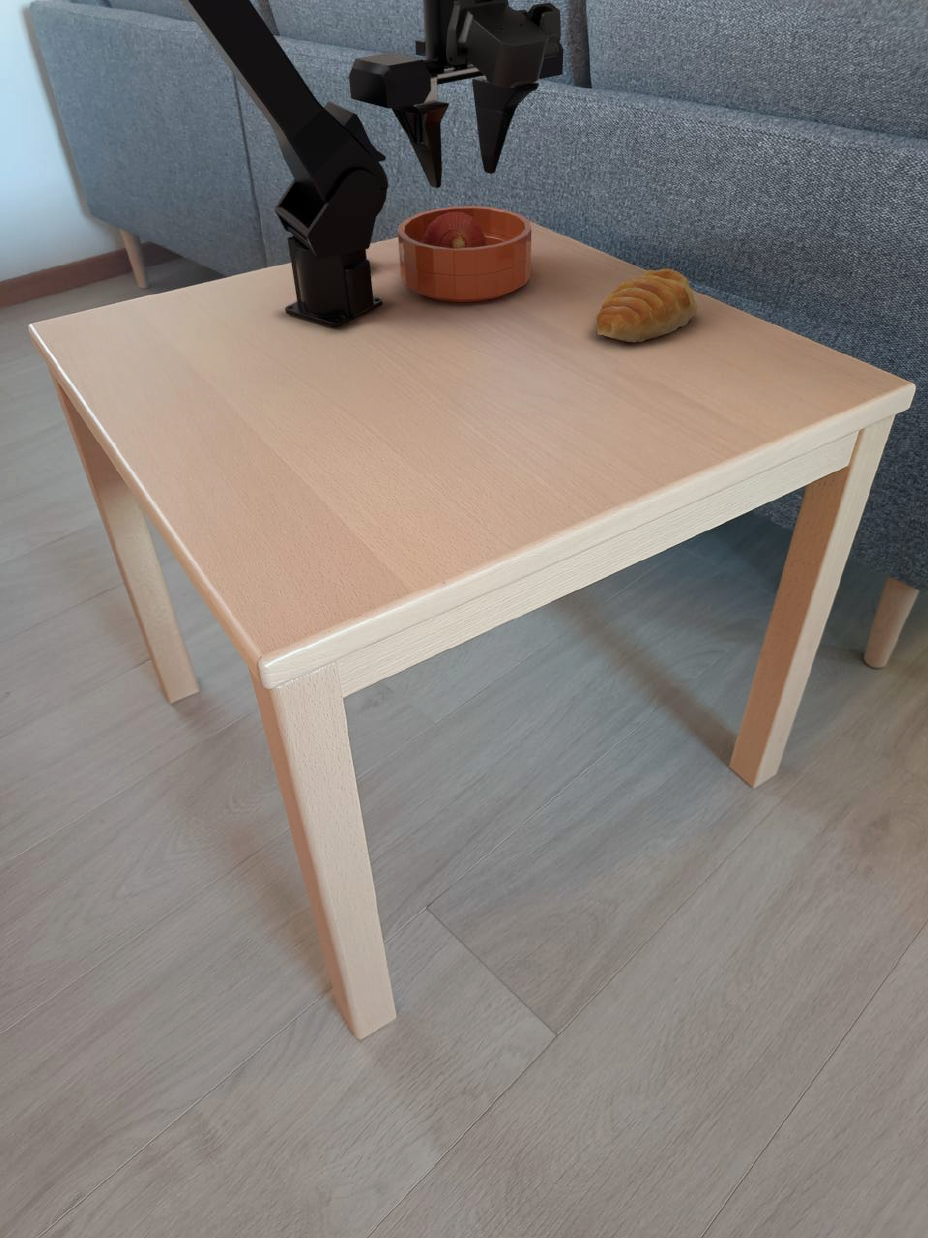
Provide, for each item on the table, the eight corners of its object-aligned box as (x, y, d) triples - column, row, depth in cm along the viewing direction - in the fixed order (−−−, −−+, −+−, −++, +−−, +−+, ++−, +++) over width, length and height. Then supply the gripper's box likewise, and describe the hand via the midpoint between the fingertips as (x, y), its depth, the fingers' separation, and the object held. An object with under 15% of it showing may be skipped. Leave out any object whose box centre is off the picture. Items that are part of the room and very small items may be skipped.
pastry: (643, 356, 72) (647, 309, 69) (574, 335, 75) (576, 290, 73) (701, 318, 77) (707, 273, 75) (634, 300, 81) (638, 257, 78)
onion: (413, 224, 78) (412, 228, 85) (438, 290, 80) (434, 288, 87) (475, 198, 77) (468, 205, 85) (498, 265, 80) (490, 265, 87)
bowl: (375, 288, 84) (370, 234, 81) (452, 250, 92) (450, 198, 88) (481, 316, 79) (480, 259, 75) (554, 273, 86) (556, 219, 83)
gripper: (425, -18, 60) (435, 225, 70) (618, -43, 68) (602, 177, 79) (334, -29, 66) (356, 194, 77) (521, -50, 75) (518, 153, 85)
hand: (463, 179), depth 79 cm, fingers open, 6 cm apart
